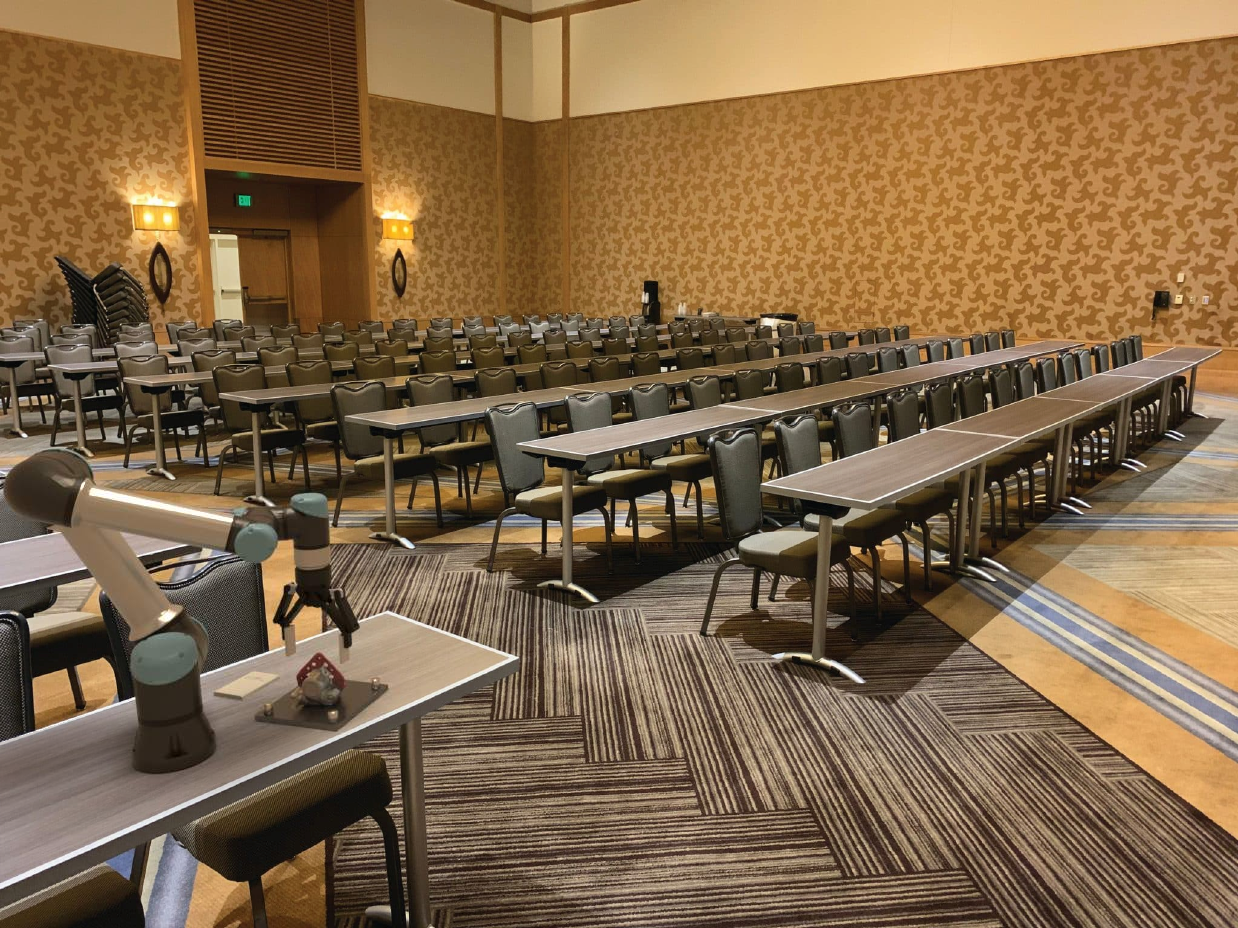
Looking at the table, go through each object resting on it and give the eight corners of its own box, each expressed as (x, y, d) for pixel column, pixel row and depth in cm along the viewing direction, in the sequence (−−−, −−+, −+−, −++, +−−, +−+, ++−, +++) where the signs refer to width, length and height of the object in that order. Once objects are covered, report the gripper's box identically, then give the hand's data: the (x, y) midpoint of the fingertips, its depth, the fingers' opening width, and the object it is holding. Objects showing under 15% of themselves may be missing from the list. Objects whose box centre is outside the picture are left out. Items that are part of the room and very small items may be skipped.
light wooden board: (213, 698, 208) (252, 676, 220) (242, 702, 205) (280, 680, 217) (213, 691, 208) (251, 670, 219) (241, 696, 205) (279, 674, 216)
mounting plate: (255, 720, 195) (253, 706, 195) (313, 680, 215) (311, 667, 214) (336, 731, 190) (335, 716, 189) (388, 689, 210) (387, 676, 209)
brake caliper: (358, 677, 207) (341, 650, 198) (344, 722, 200) (325, 696, 191) (311, 675, 209) (292, 648, 200) (295, 720, 202) (275, 694, 193)
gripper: (373, 565, 197) (377, 657, 200) (274, 555, 203) (279, 645, 207) (354, 574, 190) (358, 670, 193) (252, 564, 196) (258, 657, 200)
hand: (317, 657), depth 200 cm, fingers open, 13 cm apart
